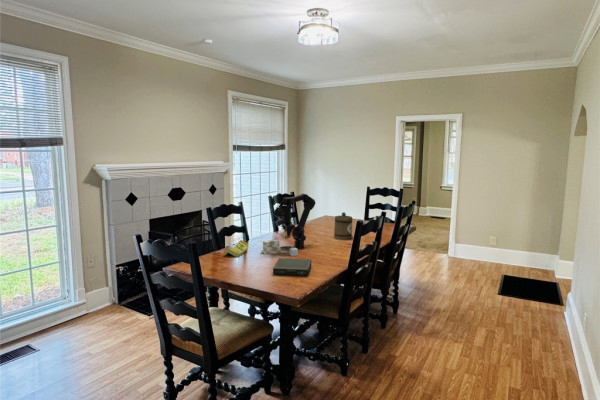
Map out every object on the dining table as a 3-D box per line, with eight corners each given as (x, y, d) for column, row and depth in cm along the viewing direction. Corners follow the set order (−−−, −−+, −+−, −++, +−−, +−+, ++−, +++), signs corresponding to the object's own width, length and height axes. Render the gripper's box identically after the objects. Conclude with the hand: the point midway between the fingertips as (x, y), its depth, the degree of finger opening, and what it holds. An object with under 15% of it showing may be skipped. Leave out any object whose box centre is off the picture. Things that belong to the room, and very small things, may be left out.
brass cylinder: (289, 236, 274) (289, 228, 273) (291, 238, 269) (291, 230, 269) (282, 237, 272) (282, 229, 271) (284, 238, 268) (284, 230, 267)
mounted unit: (291, 248, 278) (291, 238, 277) (295, 251, 270) (295, 240, 269) (261, 251, 270) (261, 240, 269) (264, 254, 262) (264, 242, 261)
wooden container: (352, 240, 307) (353, 214, 305) (334, 240, 308) (335, 213, 305) (350, 236, 322) (351, 211, 319) (333, 236, 322) (334, 210, 320)
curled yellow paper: (238, 254, 253) (226, 247, 255) (234, 263, 256) (222, 255, 257) (251, 245, 272) (239, 238, 274) (247, 253, 274) (236, 247, 276)
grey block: (295, 254, 264) (295, 247, 264) (297, 255, 260) (297, 249, 260) (289, 254, 263) (289, 248, 262) (291, 256, 259) (291, 249, 258)
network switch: (311, 265, 240) (311, 257, 239) (313, 277, 216) (313, 269, 216) (274, 265, 239) (274, 257, 238) (272, 277, 216) (272, 268, 215)
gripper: (272, 213, 274) (272, 234, 277) (280, 218, 257) (280, 240, 259) (286, 212, 278) (286, 233, 280) (295, 217, 261) (295, 238, 263)
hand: (287, 236), depth 271 cm, fingers closed on brass cylinder, 5 cm apart
